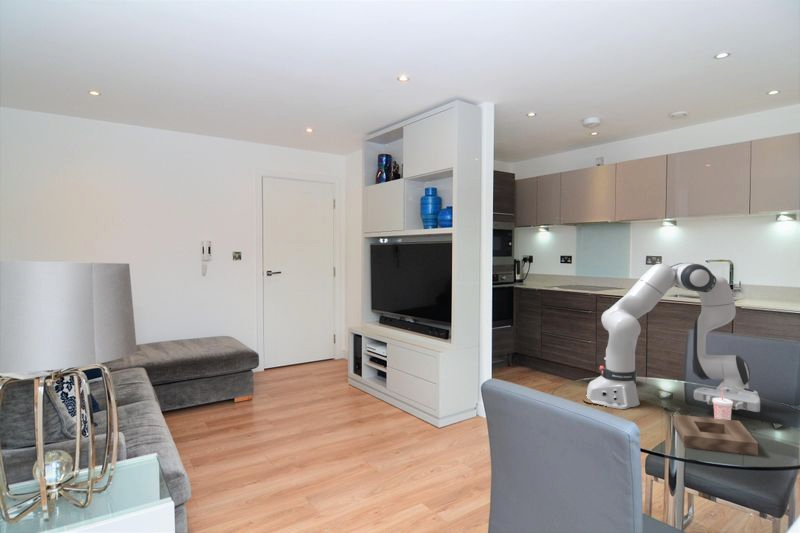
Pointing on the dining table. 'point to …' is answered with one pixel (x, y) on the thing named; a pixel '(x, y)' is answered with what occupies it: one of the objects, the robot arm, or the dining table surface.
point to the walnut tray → (714, 434)
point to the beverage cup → (722, 408)
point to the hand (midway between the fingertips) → (721, 405)
